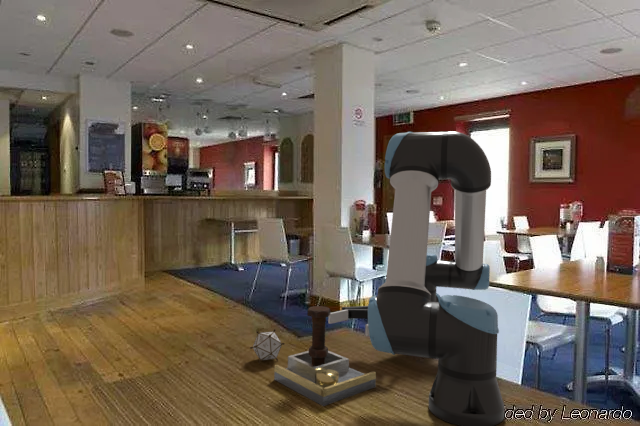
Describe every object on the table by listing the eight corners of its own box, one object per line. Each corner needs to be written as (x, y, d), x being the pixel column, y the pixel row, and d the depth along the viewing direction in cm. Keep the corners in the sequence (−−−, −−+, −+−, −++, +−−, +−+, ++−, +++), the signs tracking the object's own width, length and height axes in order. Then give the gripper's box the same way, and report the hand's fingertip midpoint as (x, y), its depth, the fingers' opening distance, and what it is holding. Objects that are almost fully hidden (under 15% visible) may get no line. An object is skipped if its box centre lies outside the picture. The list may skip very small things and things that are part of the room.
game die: (271, 376, 128) (278, 354, 122) (242, 362, 129) (247, 340, 123) (284, 350, 135) (291, 328, 129) (257, 338, 136) (262, 315, 130)
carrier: (375, 387, 112) (375, 365, 112) (323, 406, 102) (323, 383, 102) (324, 364, 126) (325, 345, 126) (274, 379, 116) (274, 359, 116)
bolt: (326, 375, 114) (327, 312, 113) (305, 373, 115) (306, 310, 114) (330, 366, 120) (331, 306, 119) (310, 364, 121) (311, 305, 120)
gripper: (437, 335, 128) (383, 351, 114) (369, 315, 146) (315, 327, 133) (438, 306, 127) (384, 320, 113) (369, 290, 146) (315, 300, 132)
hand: (347, 324), depth 123 cm, fingers open, 13 cm apart
